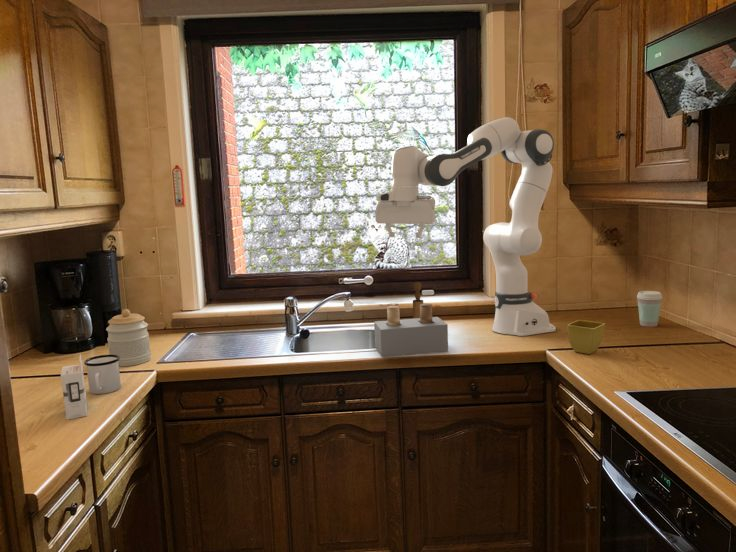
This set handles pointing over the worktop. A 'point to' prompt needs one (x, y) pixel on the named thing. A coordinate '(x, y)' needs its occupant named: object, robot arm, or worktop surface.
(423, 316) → the walnut dowel
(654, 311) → the coffee cup
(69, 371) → the ink box
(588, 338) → the flower pot
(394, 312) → the beech dowel
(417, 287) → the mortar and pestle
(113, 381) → the mug
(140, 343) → the jar
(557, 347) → the worktop surface
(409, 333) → the socket block
